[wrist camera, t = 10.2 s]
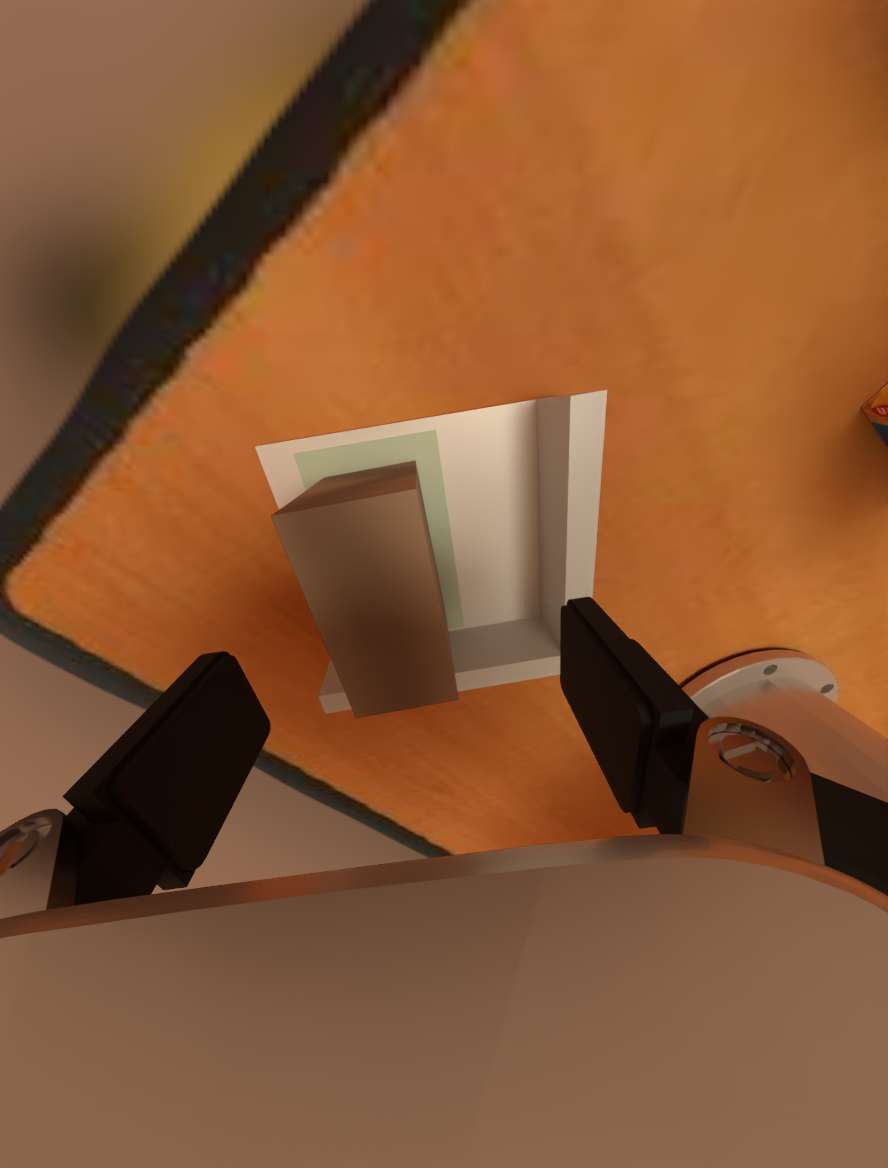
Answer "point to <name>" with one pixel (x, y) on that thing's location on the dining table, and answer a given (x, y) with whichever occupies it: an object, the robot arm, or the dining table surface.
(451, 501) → the tray
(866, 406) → the beverage box
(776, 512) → the dining table surface
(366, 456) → the pad
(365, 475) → the brown rectangular block
